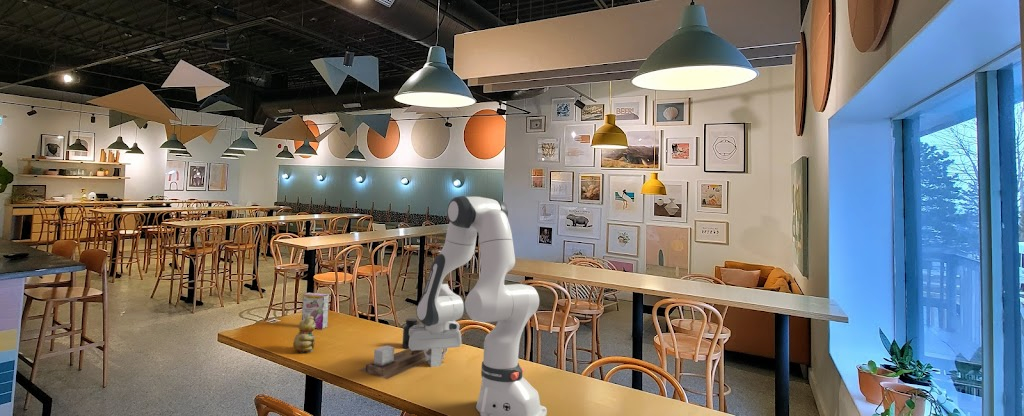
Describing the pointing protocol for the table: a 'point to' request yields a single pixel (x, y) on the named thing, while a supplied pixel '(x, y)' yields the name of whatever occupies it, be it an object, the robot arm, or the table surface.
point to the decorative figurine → (305, 335)
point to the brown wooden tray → (397, 364)
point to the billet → (435, 356)
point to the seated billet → (383, 356)
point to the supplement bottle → (409, 324)
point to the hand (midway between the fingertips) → (434, 359)
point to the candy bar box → (316, 308)
